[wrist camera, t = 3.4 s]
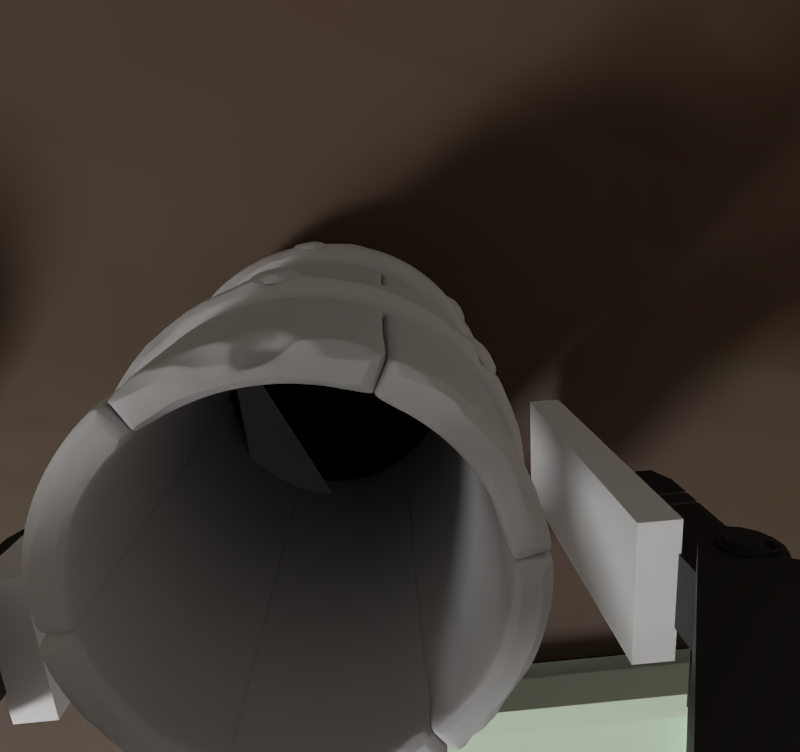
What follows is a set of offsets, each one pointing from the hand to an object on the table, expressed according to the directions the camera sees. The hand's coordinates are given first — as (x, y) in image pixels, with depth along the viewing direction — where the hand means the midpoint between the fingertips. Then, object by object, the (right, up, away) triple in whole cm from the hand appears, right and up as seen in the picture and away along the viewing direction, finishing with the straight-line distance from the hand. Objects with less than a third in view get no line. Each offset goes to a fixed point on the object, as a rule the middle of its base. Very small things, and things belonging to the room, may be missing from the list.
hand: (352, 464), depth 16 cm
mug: (0, 0, +1) cm, 1 cm away
